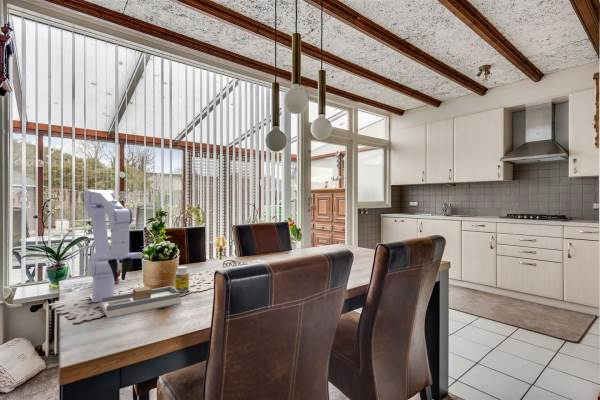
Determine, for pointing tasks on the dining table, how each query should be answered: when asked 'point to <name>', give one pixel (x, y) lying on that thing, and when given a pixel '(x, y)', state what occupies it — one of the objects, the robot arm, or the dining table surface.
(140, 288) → the block
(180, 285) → the supplement bottle
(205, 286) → the dining table surface
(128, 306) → the deck
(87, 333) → the dining table surface
